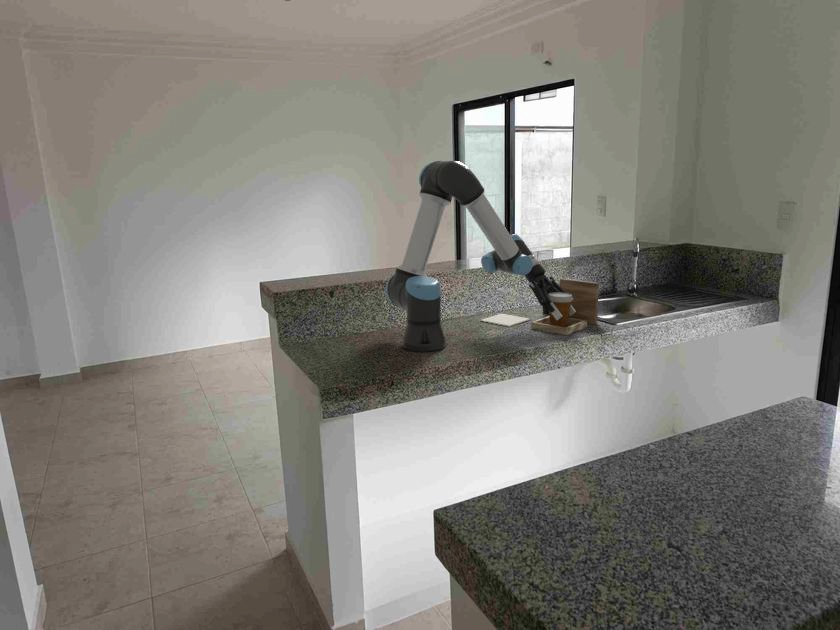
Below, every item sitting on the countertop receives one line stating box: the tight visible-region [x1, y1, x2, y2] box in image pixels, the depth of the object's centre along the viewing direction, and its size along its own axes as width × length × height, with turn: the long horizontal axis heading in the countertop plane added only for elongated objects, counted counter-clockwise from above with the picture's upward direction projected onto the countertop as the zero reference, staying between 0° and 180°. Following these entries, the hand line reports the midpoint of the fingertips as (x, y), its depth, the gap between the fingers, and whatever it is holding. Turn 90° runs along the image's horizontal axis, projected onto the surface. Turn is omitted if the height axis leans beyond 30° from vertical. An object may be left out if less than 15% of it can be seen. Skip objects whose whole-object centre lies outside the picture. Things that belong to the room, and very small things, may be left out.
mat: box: [480, 313, 531, 328], centre depth 242 cm, size 14×14×1 cm
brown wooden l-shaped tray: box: [530, 278, 600, 336], centre depth 230 cm, size 22×16×16 cm
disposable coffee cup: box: [548, 292, 573, 328], centre depth 228 cm, size 10×10×12 cm
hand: (566, 315), depth 226 cm, fingers closed on disposable coffee cup, 9 cm apart
